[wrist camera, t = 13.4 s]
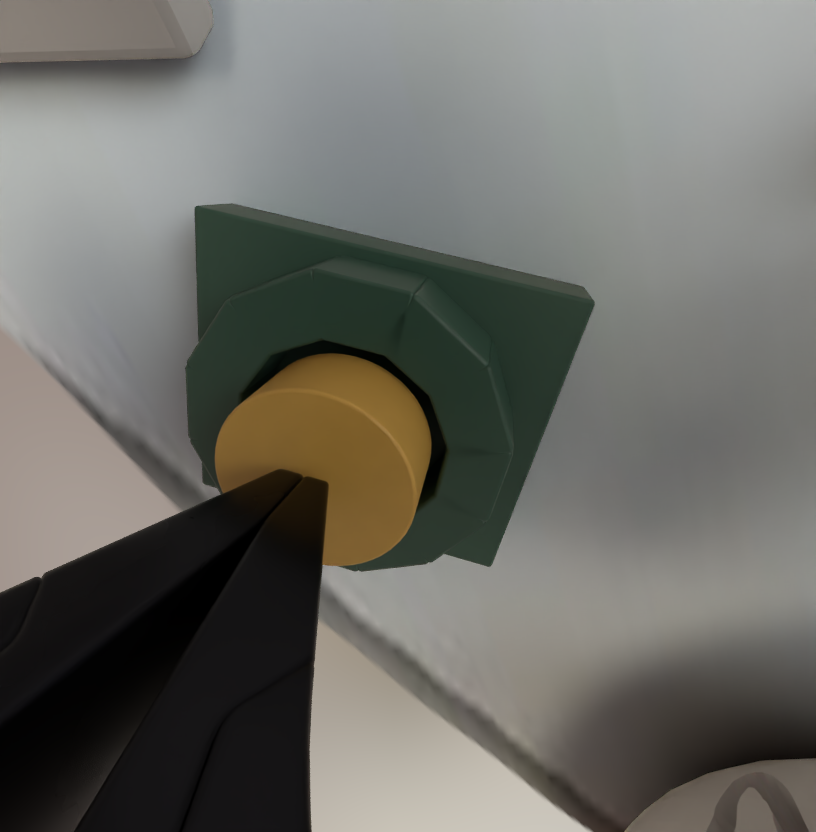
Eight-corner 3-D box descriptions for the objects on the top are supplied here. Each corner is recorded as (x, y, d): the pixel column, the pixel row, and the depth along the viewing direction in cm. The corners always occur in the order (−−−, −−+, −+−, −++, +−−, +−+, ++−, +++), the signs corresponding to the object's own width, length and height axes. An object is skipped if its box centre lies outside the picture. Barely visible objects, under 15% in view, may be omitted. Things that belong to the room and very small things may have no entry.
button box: (585, 286, 10) (615, 324, 7) (492, 532, 13) (488, 620, 10) (230, 202, 10) (135, 208, 8) (229, 457, 14) (162, 523, 11)
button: (451, 380, 8) (437, 424, 7) (412, 527, 10) (395, 589, 8) (264, 331, 9) (212, 363, 7) (257, 483, 10) (214, 535, 9)
